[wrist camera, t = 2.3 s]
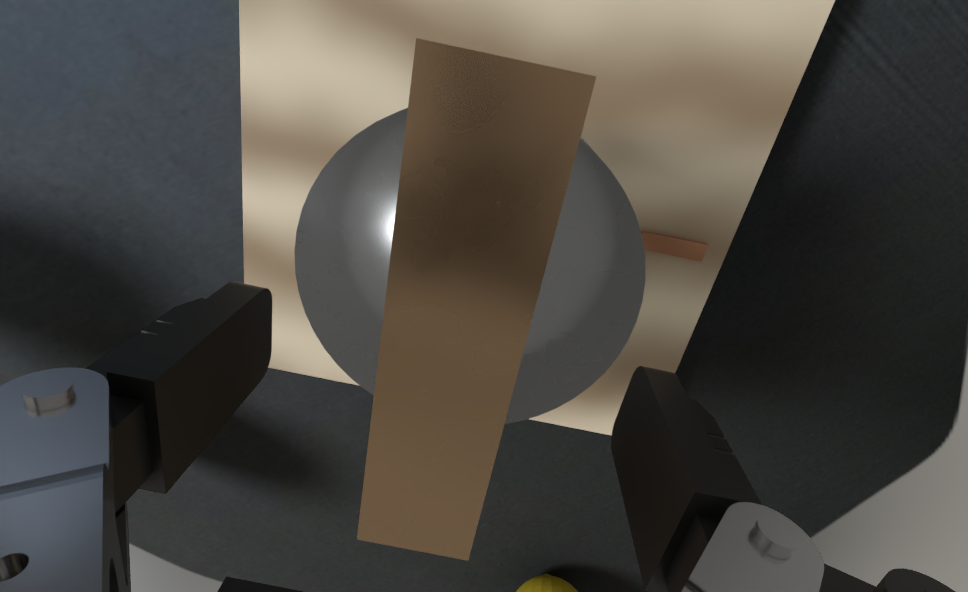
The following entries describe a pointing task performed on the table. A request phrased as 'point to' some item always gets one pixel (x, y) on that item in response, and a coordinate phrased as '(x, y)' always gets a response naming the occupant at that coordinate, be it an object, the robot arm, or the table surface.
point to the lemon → (546, 585)
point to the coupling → (466, 279)
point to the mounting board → (607, 129)
